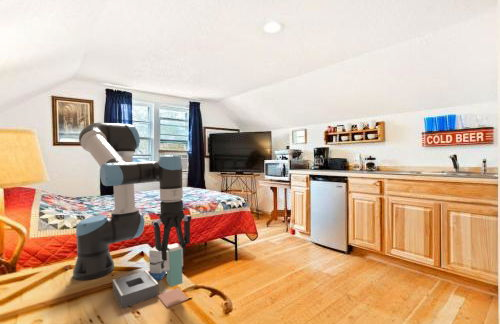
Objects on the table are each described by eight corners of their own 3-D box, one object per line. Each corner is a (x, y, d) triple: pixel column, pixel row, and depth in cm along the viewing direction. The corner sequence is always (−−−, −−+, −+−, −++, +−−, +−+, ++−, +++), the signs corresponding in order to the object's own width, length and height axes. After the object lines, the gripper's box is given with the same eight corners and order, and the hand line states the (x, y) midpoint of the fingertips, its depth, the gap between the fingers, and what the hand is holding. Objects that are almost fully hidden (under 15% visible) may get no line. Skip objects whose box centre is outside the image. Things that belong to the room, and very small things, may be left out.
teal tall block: (166, 282, 91) (165, 245, 90) (177, 278, 93) (176, 243, 93) (171, 287, 87) (169, 249, 87) (182, 283, 90) (181, 246, 89)
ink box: (160, 280, 103) (159, 251, 102) (149, 279, 104) (148, 250, 103) (171, 270, 111) (170, 243, 111) (160, 270, 112) (159, 243, 112)
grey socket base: (112, 291, 96) (112, 279, 95) (146, 280, 103) (146, 269, 103) (121, 308, 85) (121, 295, 84) (158, 295, 92) (158, 283, 92)
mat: (157, 296, 91) (157, 295, 91) (181, 287, 97) (181, 286, 97) (166, 308, 84) (166, 306, 84) (192, 298, 90) (192, 296, 90)
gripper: (149, 205, 81) (152, 278, 82) (199, 198, 92) (201, 263, 92) (142, 202, 87) (145, 270, 88) (190, 196, 98) (192, 257, 98)
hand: (174, 266), depth 90 cm, fingers closed on teal tall block, 4 cm apart
